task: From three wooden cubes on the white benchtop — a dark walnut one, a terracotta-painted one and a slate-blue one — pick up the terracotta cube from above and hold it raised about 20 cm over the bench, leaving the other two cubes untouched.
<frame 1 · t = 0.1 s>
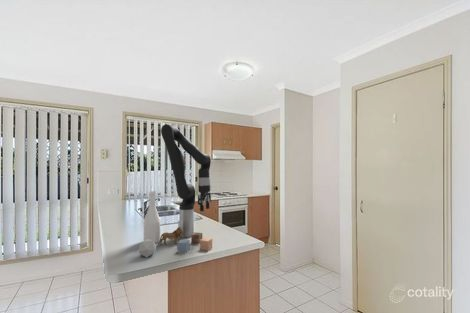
hand: (204, 210, 152), 17 cm above the countertop, tool pointing down, fingers open, 8 cm apart
terracotta cube: (206, 248, 132), on the countertop
slate blue cube: (183, 250, 128), on the countertop
lion figurine: (171, 243, 140), on the countertop
grey rounded lump: (147, 255, 121), on the countertop
walnut cube: (196, 242, 142), on the countertop
wine bottle: (152, 242, 143), on the countertop
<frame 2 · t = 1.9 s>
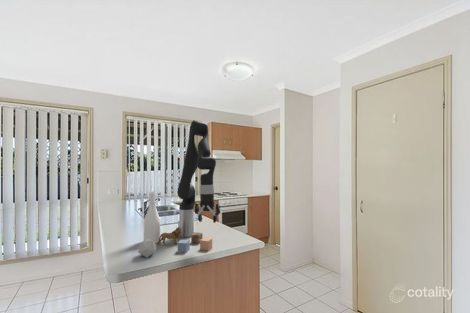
hand: (207, 222, 132), 14 cm above the countertop, tool pointing down, fingers open, 8 cm apart
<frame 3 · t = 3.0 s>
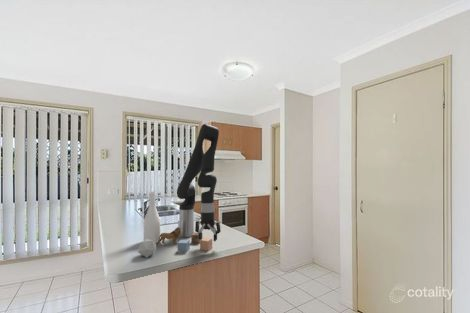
hand: (207, 240, 132), 4 cm above the countertop, tool pointing down, fingers open, 8 cm apart
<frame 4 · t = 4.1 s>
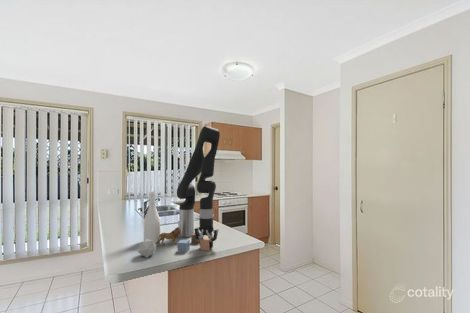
hand: (206, 247, 132), 0 cm above the countertop, tool pointing down, fingers closed on terracotta cube, 5 cm apart
terracotta cube: (206, 248, 132), on the countertop, touching gripper
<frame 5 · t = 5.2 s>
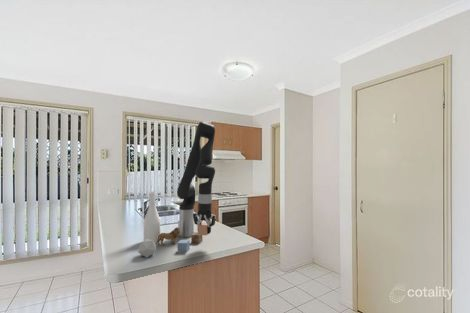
hand: (204, 232, 132), 9 cm above the countertop, tool pointing down, fingers closed on terracotta cube, 5 cm apart
terracotta cube: (204, 233, 132), point 8 cm above the countertop, touching gripper
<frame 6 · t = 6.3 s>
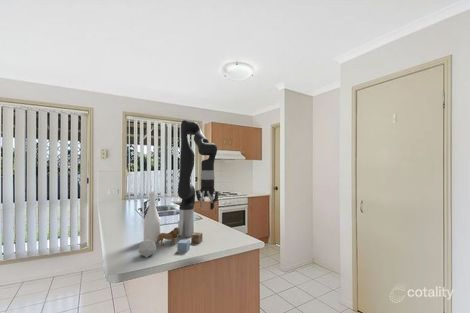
hand: (207, 208, 133), 22 cm above the countertop, tool pointing down, fingers closed on terracotta cube, 5 cm apart
terracotta cube: (207, 209, 133), point 21 cm above the countertop, touching gripper
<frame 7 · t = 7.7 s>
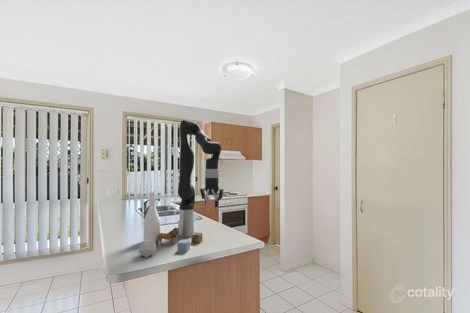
hand: (211, 206, 135), 22 cm above the countertop, tool pointing down, fingers closed on terracotta cube, 5 cm apart
terracotta cube: (211, 207, 135), point 22 cm above the countertop, touching gripper
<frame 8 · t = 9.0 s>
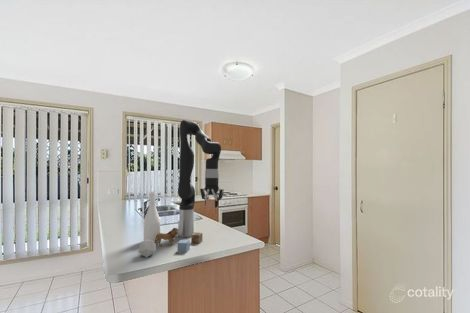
hand: (211, 206, 135), 22 cm above the countertop, tool pointing down, fingers closed on terracotta cube, 5 cm apart
terracotta cube: (211, 207, 135), point 22 cm above the countertop, touching gripper
at the end: the gripper is holding terracotta cube; terracotta cube point 21.8 cm above the countertop; walnut cube moved 0.1 cm from its start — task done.
